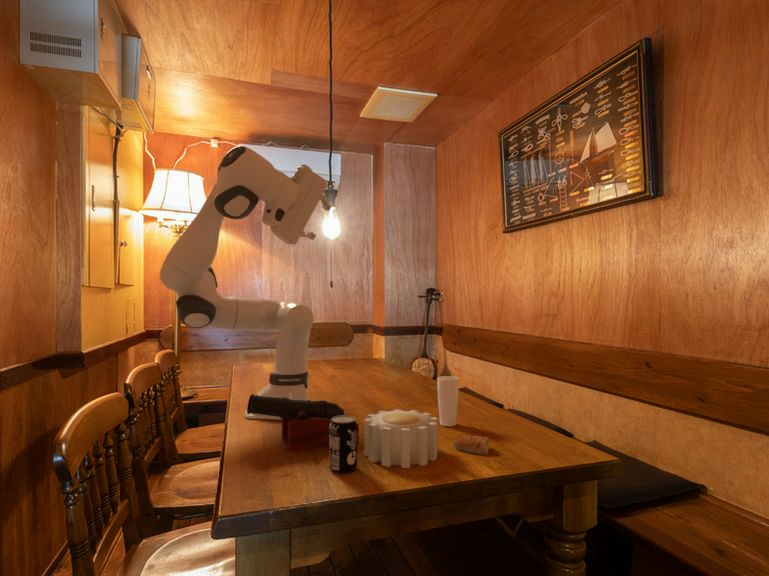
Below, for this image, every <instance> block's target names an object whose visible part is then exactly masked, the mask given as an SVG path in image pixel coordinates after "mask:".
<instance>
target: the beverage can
mask: <svg viewBox="0 0 769 576" xmlns="http://www.w3.org/2000/svg"><path fill="white" fill-rule="evenodd" d="M331 420H332V421H331V423H330V429H329V447H328V449H329V450H328V452H329V455H328V457H329V458H328V460H329V465H328V466H329V468H330V470H331V471H332V472H333V473H336V474H349V473H351V472H353V471H354V470H356V468H357V467H358V443H357V424H358V423H357V422H356V417H355V416H353V415H347V414H344V415H341V416H335V417H333V418H332V419H331Z"/></svg>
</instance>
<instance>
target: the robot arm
mask: <svg viewBox="0 0 769 576" xmlns="http://www.w3.org/2000/svg"><path fill="white" fill-rule="evenodd" d="M327 188H328V182H327V180H326V179H325V178H324V177H322V176H321V175H319V174H317V173H316V172H314V171H313V170H312V168H311V167H310V166H308V164H301V165H299V166H298V167H297V168H296V170H295V173H294V174H293V176H292V177H289V176H288V175H287V174H285V172H282V171H280V170H278V169H277V168H275V166H274V165H273V164H272V163H271V162H270V161H269V160H268V159H267V158H265V157H263V156H262V155H261V154H259V153H258V152H256V151H255V150H253V149H251V148H250V147H247V146H244V145H238V146H235V147H233V148H232V149H231V148H230V150H229V151H227V152H226V154H225V155H224V156H223V157H222V159H221V161H220V163H219V165H218V168H217V178H216V182H215V185H214V186H213V188H212V190H211V191H210V194H209V195H208V197H207V198H206V200H205V202H204V204H203V205H202V207H201V209H200V210H199V212H198V213H197V215H196V216H195V217H194V218H193V220H192V221H191V223H190V224H189V225H188V226H187V228H186V229H185V230H184V231H183V232H182V234H180V237H178V238H177V240H176V242H175V243H173V246H172V247H171V248H170V250H169V251H168V253H167V254H166V257H165V259H164V261H163V263H162V265H161V267H160V272H159V278H160V281H161V283H162V285H164V286H165V288H167V289H169V290H171V291H173V292H175V293H176V294H177V299H176V301H175V305H176V310H177V315H178V317H179V320H180V323H182V324H183V325H184V326H186V327H189V328H192V329H200V328H201V329H202V328H205V327H209V328H213V329H219V330H227V331H240V332H241V331H243V332H245V331H246V332H278V337H277V343H276V347H275V350H274V371H271V372H270V373H269V375H268V383H267V385H266V386H264V387H263V388H262V389H261V390H260V391H258V392H257V393H256V394H254V395H255V396H256V395H258V396H264V397H275V398H284V397H285V398H288V399H291V400H305V401H308V400H310V399H309V391H308V388H309V372H308V347H309V340H310V335H311V329H312V326H313V324H314V321H315V320H314V319H315V316H314V313H313V310H312V309H311V308H310V307H309V306H307V305H306V304H305V303H303V302H299V301H284V300H272V299H262V298H251V297H240V296H239V297H238V296H225V295H220V294H219V292H218V291H217V288H218V286H219V285H218V281H217V276H216V274H215V271H214V269H213V268H212V264H213V262H214V260H215V258H216V256H217V251H218V246H219V239H220V232H221V228H222V224H223V222H224V220H225V218H228V219H229V220H243V219H245V218H247V217H249V215H251V213H252V212H253V211H254V210H255V208H256V207H257V205H258V203H259V202H260V201H262V202H264V208H263V213H262V219H261V222H262V223H263V224H264V225H266V226H269V229H270V231H271V232H272V234H274V235H275V236H276V237H277V238H278V239H279V240H281V241H282V242H284V243H285V244H287V245H296V244H297V243H298V241H299V239H300V238H308V239H309V240H312V241H314V240H315V239H316V237H317V235H316V234H315V233H314V232H311V231H308V232H307V233H306V231H304V230H305V228H306V226H307V224H308V222H309V220H310V218H312V214H313V213H314V211H315V209H316V207H317V206H318V204H319V202H320V201H321V204H322V206H321V209H324V210H325V211H327V212H330V210H331V208H332V205H331V204H329V203H328V202H329V201H328V200H327V199H328V198H327V197H326V195H325V194H324V193H325V191H326V189H327ZM244 418H246V419H253V420H255V419H256V420H257V419H258V420H277V421H278V420H279V421H280V420H281V421H282V418H280V417H276V416H269V415H262V414H255V413H254V415H253V414H252V413H251V414H248V413H247V409H246V410H245V412H244Z"/></svg>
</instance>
